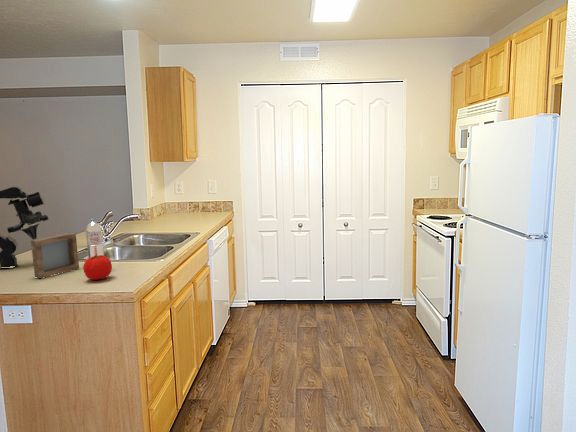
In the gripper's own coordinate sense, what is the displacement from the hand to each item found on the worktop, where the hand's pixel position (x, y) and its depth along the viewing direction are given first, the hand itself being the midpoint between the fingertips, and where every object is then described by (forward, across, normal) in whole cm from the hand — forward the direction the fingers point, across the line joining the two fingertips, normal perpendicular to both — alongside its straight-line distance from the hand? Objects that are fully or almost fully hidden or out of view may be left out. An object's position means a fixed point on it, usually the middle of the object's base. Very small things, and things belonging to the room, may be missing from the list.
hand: (34, 239), depth 229 cm
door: (+15, -9, -21) cm, 28 cm away
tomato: (+20, -8, -52) cm, 57 cm away
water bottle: (+20, +2, -39) cm, 44 cm away
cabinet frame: (+16, -9, -25) cm, 31 cm away
